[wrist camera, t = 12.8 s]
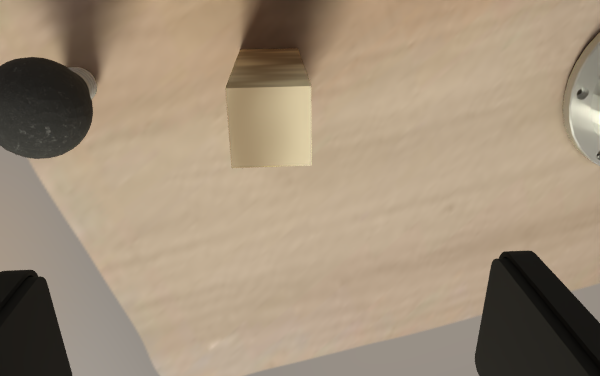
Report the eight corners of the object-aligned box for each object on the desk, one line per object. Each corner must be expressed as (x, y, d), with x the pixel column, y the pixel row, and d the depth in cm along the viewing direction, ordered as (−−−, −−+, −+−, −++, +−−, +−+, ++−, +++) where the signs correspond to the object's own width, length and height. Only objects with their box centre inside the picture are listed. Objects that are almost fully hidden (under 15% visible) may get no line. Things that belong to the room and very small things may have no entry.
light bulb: (127, 50, 33) (73, 81, 24) (120, 128, 35) (68, 183, 26) (41, 31, 32) (-49, 56, 23) (40, 112, 34) (-44, 163, 25)
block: (297, 48, 33) (311, 85, 23) (298, 104, 35) (311, 165, 24) (240, 49, 33) (225, 88, 22) (243, 106, 35) (231, 168, 24)
